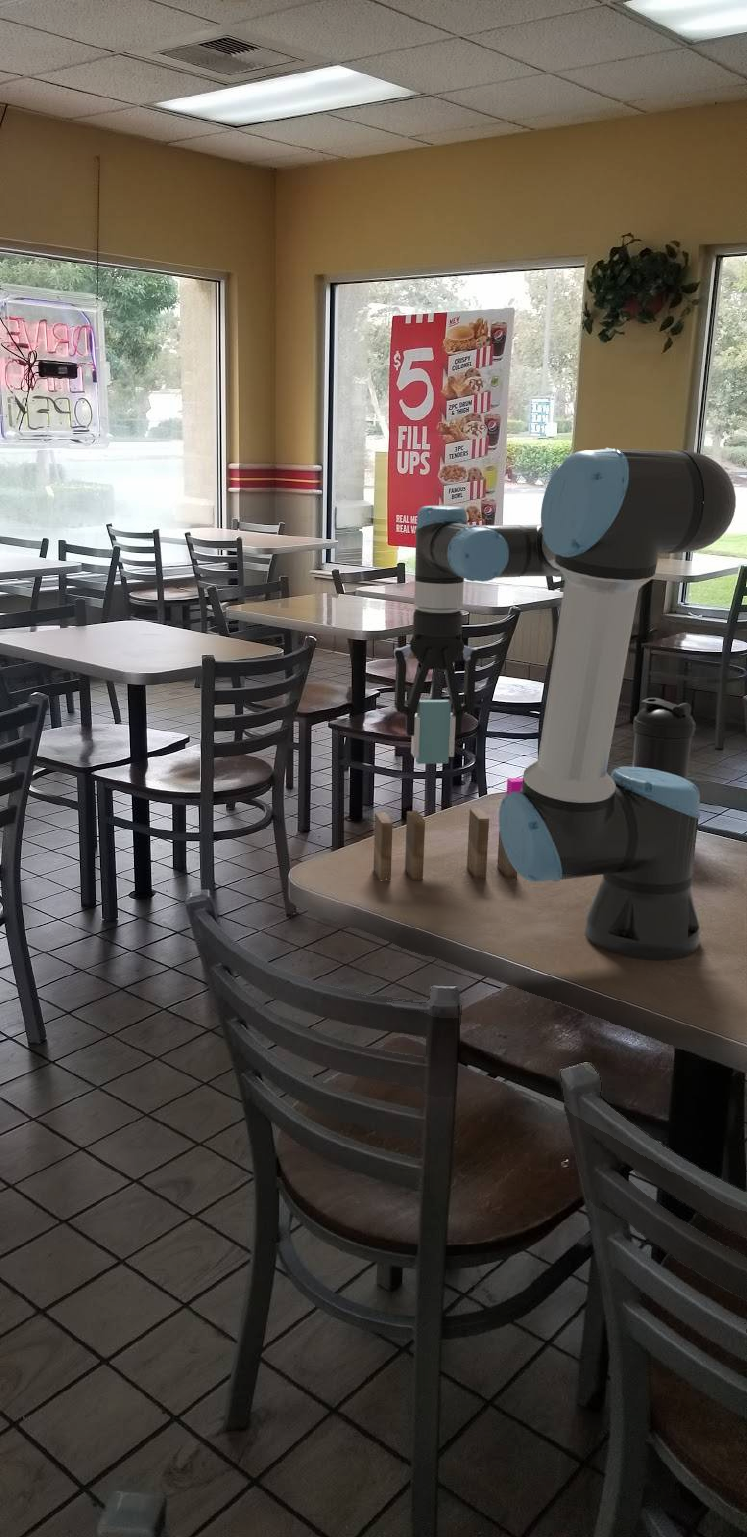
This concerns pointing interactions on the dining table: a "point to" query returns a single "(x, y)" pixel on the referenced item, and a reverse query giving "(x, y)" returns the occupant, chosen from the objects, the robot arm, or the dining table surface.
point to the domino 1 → (383, 846)
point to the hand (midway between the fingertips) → (432, 754)
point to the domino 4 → (477, 843)
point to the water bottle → (663, 736)
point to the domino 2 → (414, 845)
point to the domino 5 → (504, 861)
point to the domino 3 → (434, 731)
